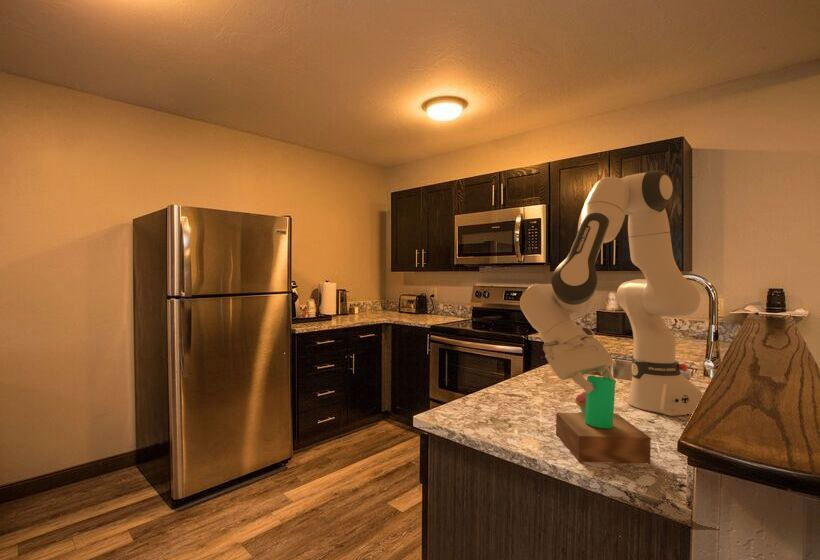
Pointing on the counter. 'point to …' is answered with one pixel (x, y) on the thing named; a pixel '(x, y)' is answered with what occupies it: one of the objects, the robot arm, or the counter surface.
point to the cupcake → (581, 401)
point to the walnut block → (603, 440)
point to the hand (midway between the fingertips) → (602, 388)
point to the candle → (600, 402)
